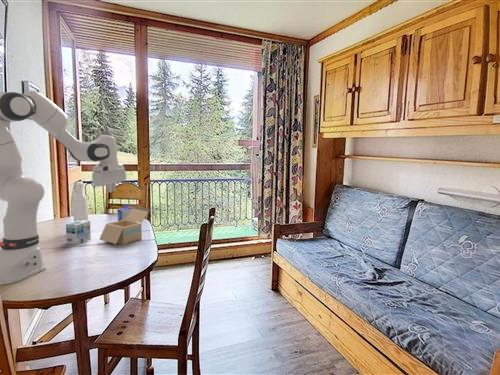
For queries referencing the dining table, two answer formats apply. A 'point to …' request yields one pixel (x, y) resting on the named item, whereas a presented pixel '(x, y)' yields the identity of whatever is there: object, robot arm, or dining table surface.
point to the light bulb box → (78, 232)
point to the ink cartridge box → (124, 212)
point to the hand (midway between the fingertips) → (111, 191)
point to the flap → (137, 214)
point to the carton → (122, 232)
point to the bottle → (80, 204)
